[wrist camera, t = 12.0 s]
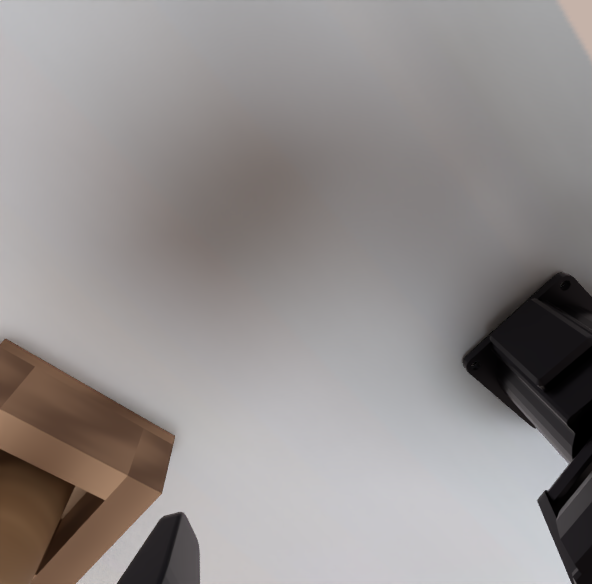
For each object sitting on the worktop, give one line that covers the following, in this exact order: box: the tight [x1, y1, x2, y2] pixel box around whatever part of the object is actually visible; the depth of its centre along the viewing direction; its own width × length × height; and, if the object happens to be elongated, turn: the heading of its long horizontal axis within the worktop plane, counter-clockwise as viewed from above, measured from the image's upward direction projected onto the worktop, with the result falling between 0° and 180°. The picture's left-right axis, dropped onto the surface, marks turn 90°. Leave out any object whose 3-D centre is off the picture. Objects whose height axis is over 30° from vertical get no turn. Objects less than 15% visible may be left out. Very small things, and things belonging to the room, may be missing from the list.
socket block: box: [0, 339, 175, 584], centre depth 21 cm, size 9×9×4 cm
